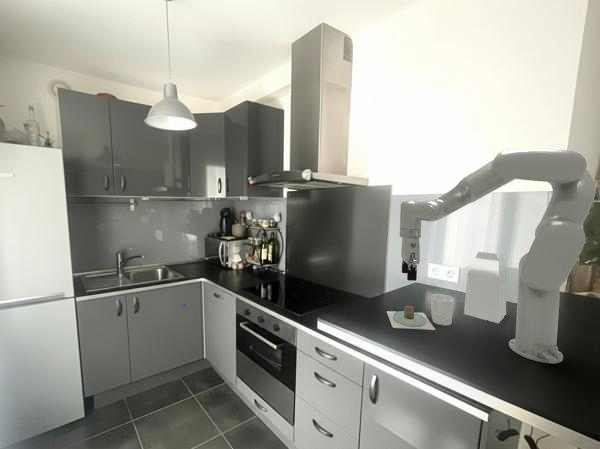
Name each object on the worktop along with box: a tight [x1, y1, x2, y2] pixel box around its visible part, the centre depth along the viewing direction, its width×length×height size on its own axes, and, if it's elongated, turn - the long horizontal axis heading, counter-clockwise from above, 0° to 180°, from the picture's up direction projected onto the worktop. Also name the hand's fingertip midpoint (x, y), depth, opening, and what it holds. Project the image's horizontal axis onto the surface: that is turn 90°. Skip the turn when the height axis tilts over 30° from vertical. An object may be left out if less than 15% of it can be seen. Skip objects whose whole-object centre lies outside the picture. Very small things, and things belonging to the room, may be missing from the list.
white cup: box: [430, 293, 455, 326], centre depth 104 cm, size 8×8×10 cm
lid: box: [393, 305, 426, 327], centre depth 107 cm, size 12×12×5 cm
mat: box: [386, 310, 436, 331], centre depth 107 cm, size 15×15×1 cm
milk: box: [463, 250, 507, 324], centre depth 110 cm, size 12×12×26 cm
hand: (408, 276), depth 105 cm, fingers open, 9 cm apart
